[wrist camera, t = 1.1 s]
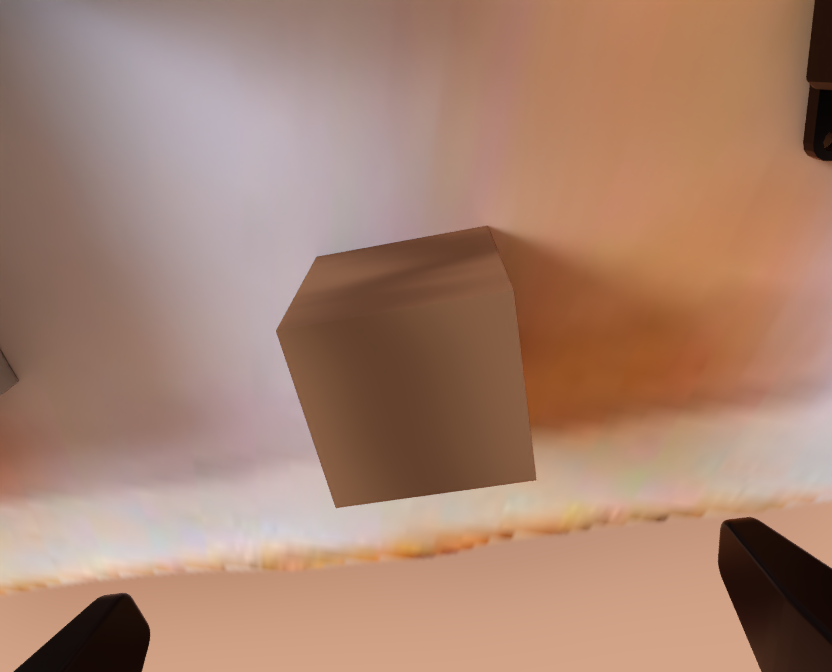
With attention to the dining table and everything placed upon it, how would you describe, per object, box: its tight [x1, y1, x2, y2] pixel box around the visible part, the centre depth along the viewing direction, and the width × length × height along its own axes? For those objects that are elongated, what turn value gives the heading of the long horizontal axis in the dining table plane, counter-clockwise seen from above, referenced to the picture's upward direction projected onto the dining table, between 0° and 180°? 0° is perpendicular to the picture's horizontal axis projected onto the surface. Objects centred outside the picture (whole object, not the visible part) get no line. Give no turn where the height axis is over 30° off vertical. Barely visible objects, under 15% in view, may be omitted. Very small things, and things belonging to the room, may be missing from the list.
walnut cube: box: [276, 226, 536, 508], centre depth 15 cm, size 5×5×5 cm
